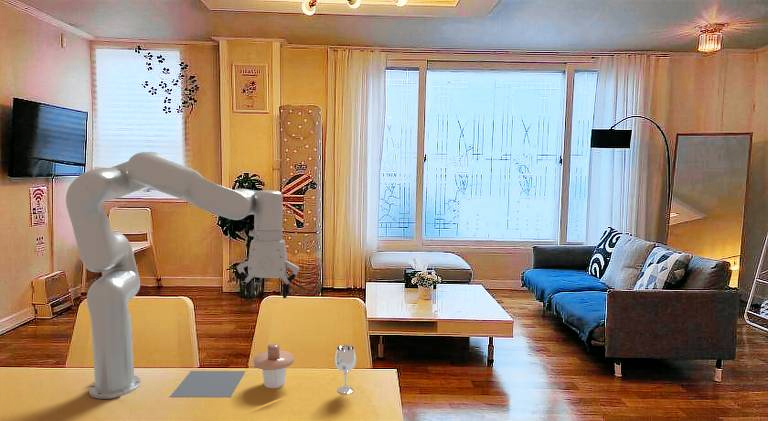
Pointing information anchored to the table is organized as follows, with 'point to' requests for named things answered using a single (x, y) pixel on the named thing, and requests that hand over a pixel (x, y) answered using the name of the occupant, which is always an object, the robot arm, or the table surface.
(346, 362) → the wineglass
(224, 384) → the mat
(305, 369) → the table surface
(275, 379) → the white cup
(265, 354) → the lid
